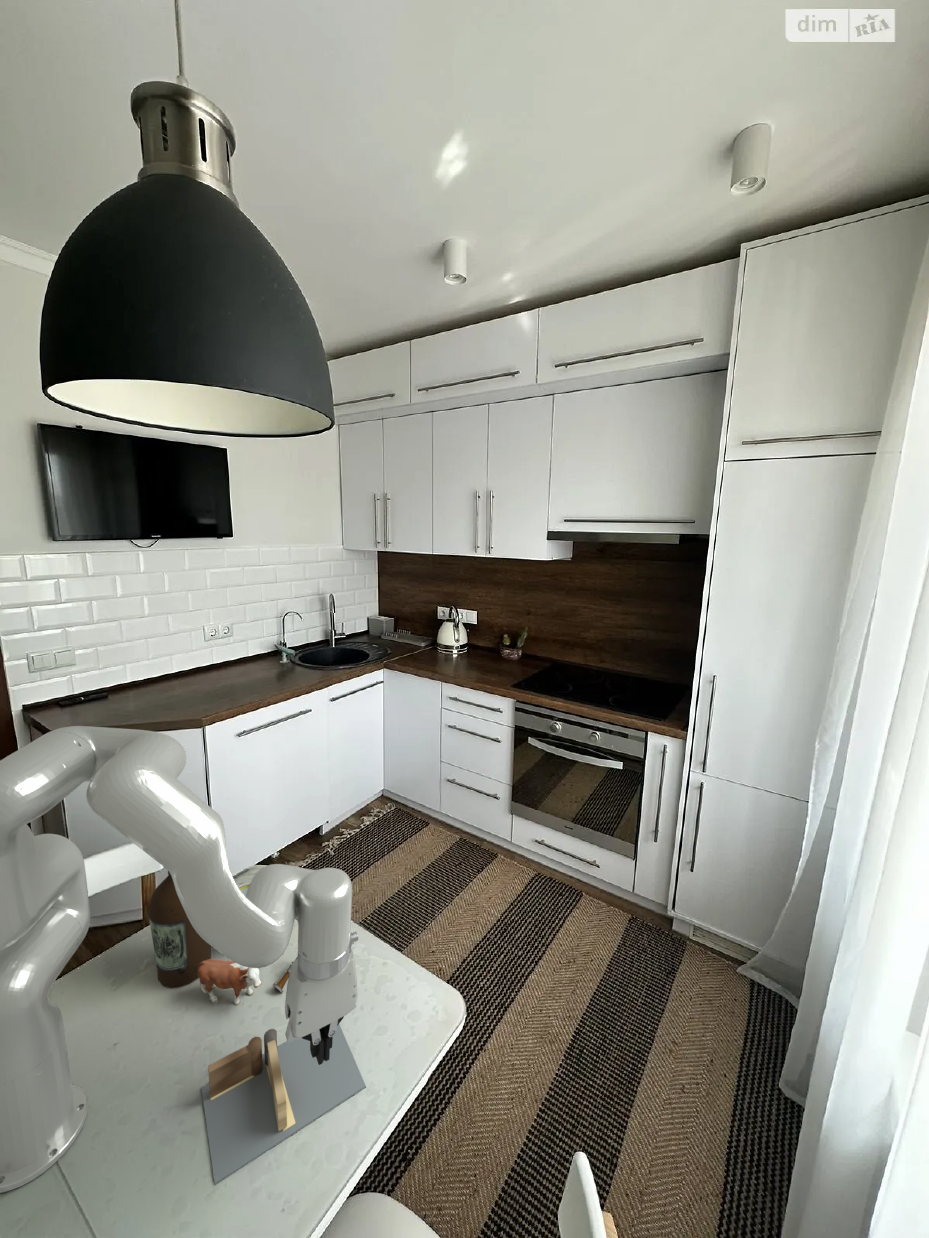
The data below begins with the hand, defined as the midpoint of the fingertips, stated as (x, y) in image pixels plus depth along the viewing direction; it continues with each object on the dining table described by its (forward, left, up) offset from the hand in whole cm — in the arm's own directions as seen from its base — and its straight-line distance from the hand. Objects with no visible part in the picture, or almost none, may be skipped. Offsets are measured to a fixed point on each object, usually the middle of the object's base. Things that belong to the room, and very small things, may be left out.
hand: (320, 1053), depth 77 cm
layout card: (-5, +4, -8) cm, 10 cm away
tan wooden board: (-6, +4, -7) cm, 10 cm away
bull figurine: (-9, +25, -8) cm, 28 cm away
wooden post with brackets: (+2, +23, -8) cm, 25 cm away
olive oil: (-16, +37, -8) cm, 41 cm away
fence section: (-11, +9, -8) cm, 16 cm away
